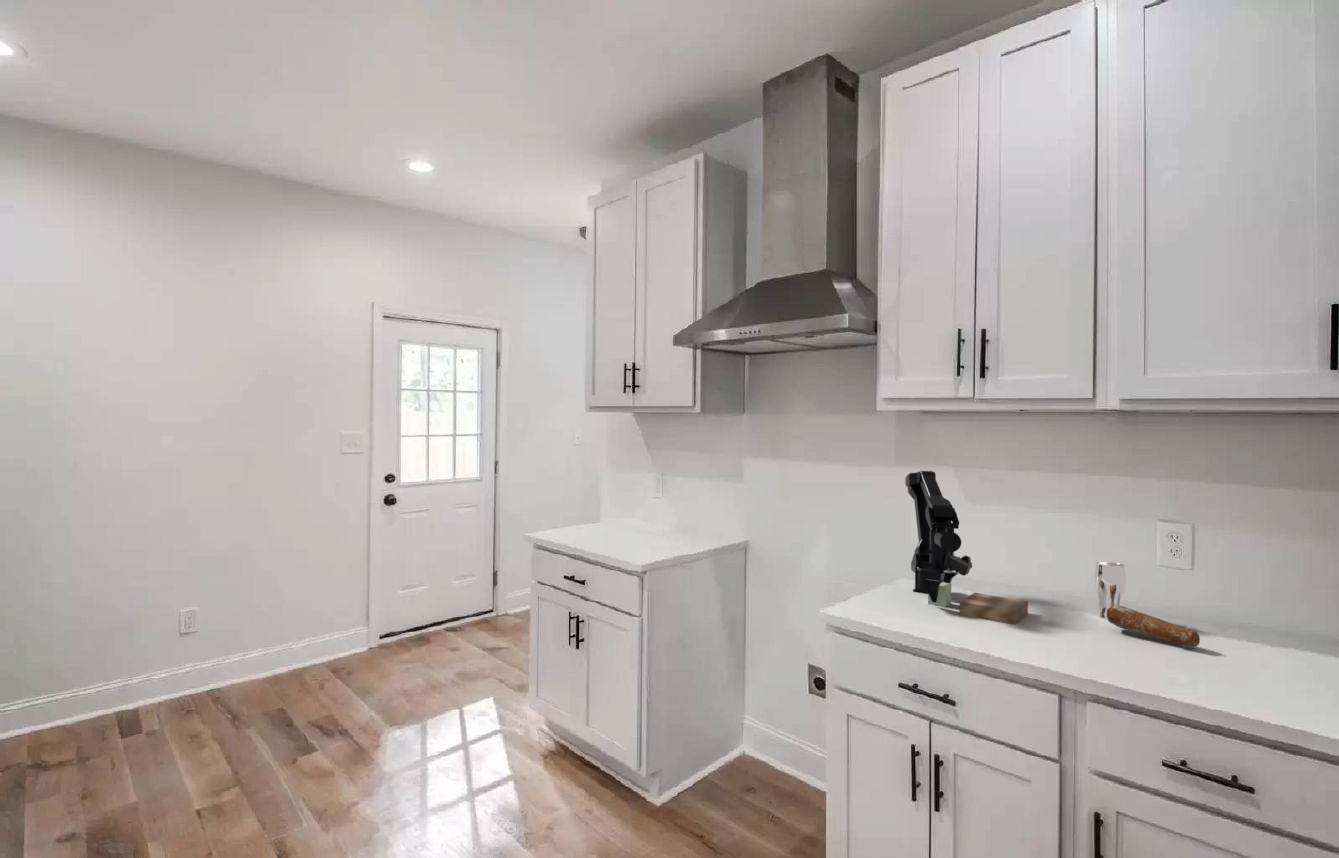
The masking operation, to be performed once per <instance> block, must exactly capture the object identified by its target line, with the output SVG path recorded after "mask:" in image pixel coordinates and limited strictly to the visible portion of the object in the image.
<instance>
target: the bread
mask: <svg viewBox="0 0 1339 858" xmlns="http://www.w3.org/2000/svg"><path fill="white" fill-rule="evenodd" d="M1107 619H1108V622H1109V623H1110V624H1112V625H1114V626H1116V627H1118V628H1120V629H1123V630H1127V631H1131V632H1134V633H1138V634H1142V635H1146V636H1149V637H1153V638H1156V639H1160V640H1164V641H1168V642H1173V643H1177V644H1180V645H1185V646H1189V647H1197V646H1199V645H1200V640H1201V637H1200V635H1199V633H1197V632H1196V631H1194V630H1192V629H1188V628H1186V627H1183V626H1181V625H1178V624H1175V623H1173V622H1169V621H1166V620H1163V619H1161V618H1158V617H1154V616H1152V615H1149V614H1146V613H1143V612H1141V611H1138V610H1134V609H1131V608H1128V607H1126V606H1123V605H1122V606H1119V605H1116V604H1112V605H1111V606H1110V607H1109V608H1108V609H1107ZM1107 619H1106V620H1107Z"/></svg>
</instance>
